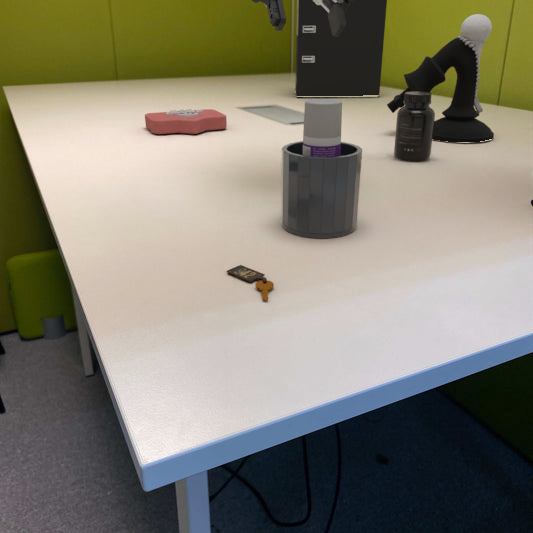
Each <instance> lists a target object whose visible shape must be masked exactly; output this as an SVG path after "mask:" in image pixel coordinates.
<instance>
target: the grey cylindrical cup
mask: <svg viewBox="0 0 533 533" xmlns="http://www.w3.org/2000/svg"><path fill="white" fill-rule="evenodd" d="M362 159H363V148H361V146H359V145H357V144H355V143H350V142H345V141H341V153H340V156H337V157H312V156H304V155H303V140H301V141H295V142H290V143H287V144H284V145H283V146H282V148H281V189H280V190H281V193H280V195H281V197H280V198H281V200H280V201H281V203H280V204H281V206H280V209H281V210H280V211H281V212H280V213H281V214H280V221H281V227H282V229H283V230H284V231H286V232H287V233H290V234H292V235H294V236H299V237H304V238H310V239H335V238H341V237H345V236H347V235H350V234H352V233H354V232H355V231H356V230H357V227H358V220H359V219H358V216H359V204H360V190H361V189H360V188H361V173H362V162H363V161H362Z"/></svg>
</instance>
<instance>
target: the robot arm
mask: <svg viewBox="0 0 533 533" xmlns="http://www.w3.org/2000/svg"><path fill="white" fill-rule="evenodd" d="M313 1H314V2H315V3H316V4H317V5H321V6H322V7H323V8H324V9H325V10H326V11H327V12H328V19H329V23H330V27H331V31H332V35H333V36H336V37H338V36H339V35H340V34H341V32H342V31H343V30H344V28H345V27H346V20H345V15H344V12H345V11H346V10H347V8H348V6H349V5H350V3H351V2H352V1H353V0H333V1H332V3H331V2H330V1H329V0H313ZM251 2H253V3H255V4H258V3H260V2H261V3H263V4H264V6H265V7H266V10H267V15H268V18H269V23H270V25H271V27H274V30H275V31H276V32H282V31H283V29H284V27H285V26H286V24H287V16H286V11H285V8H284V3H283V0H251Z"/></svg>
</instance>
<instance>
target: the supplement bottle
mask: <svg viewBox="0 0 533 533" xmlns="http://www.w3.org/2000/svg"><path fill="white" fill-rule="evenodd" d="M403 103H404V104H405V105H404V106H403V107H402V108H399V110H398V111H397V114H396V122H395V123H396V124H395V136H394V149H393V157H394V158H395V159H397V160H399V161H401V162H402V161H403V162H409V163H411V162H412V163H413V162H414V163H415V162H416V163H419V162H424V161H425V162H426V161H427V160H429V159H430V158H431V154H432V144H433V140H432V138H433V129H434V121H436V113H435V111H434V109H433V108H432V107H430V105H431V104H432V92H430V93H429V92H420V91H413V92H406V93H405V94H404V102H403Z"/></svg>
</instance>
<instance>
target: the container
mask: <svg viewBox="0 0 533 533" xmlns="http://www.w3.org/2000/svg"><path fill="white" fill-rule="evenodd" d="M303 111H304V113H303V115H304V116H303V130H302V131H303V134H302V141H303V155H304V156H312V157H337V156H340V153H341V142H342V124H343V123H342V122H343V101H342V100H340V99H336V98H309V99H307V100H304V110H303Z"/></svg>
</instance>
